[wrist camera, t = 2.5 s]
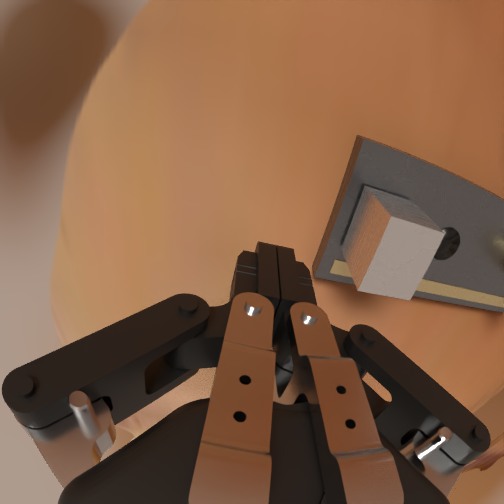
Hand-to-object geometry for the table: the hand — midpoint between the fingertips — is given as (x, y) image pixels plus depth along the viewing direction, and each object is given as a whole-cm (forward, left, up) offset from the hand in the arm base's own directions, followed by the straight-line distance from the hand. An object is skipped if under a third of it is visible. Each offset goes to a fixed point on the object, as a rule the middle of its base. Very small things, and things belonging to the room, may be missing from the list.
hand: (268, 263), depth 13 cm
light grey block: (-8, 0, -8) cm, 12 cm away
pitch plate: (-18, 0, -10) cm, 21 cm away
